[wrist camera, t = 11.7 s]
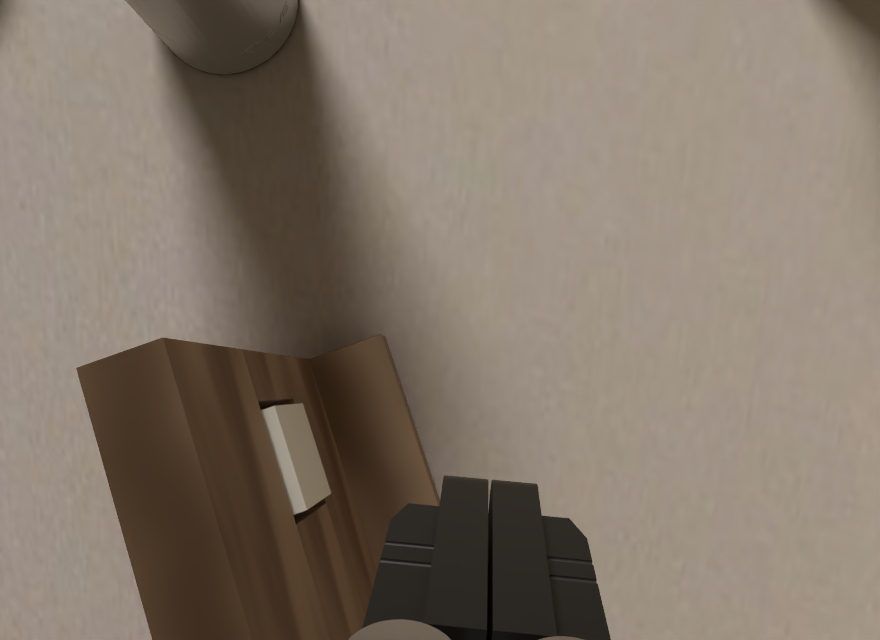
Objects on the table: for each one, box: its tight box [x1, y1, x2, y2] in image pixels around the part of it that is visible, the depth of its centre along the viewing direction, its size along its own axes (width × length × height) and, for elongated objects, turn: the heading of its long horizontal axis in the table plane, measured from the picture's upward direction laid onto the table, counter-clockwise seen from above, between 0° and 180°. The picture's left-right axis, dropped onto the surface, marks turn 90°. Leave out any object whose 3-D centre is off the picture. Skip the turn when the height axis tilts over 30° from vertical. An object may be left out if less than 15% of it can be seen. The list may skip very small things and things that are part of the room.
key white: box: [261, 403, 331, 515], centre depth 32 cm, size 8×5×5 cm, turn 109°
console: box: [76, 334, 440, 640], centre depth 31 cm, size 8×26×20 cm, turn 19°
